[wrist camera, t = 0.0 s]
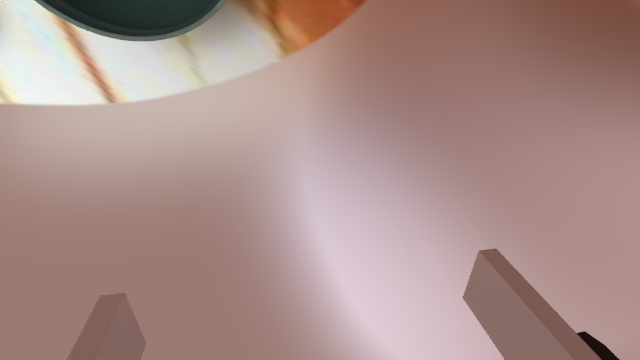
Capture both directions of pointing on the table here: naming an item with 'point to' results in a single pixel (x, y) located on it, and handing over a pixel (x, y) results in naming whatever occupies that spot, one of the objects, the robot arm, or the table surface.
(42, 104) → the table surface
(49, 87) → the table surface
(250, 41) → the table surface
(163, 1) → the flower pot
